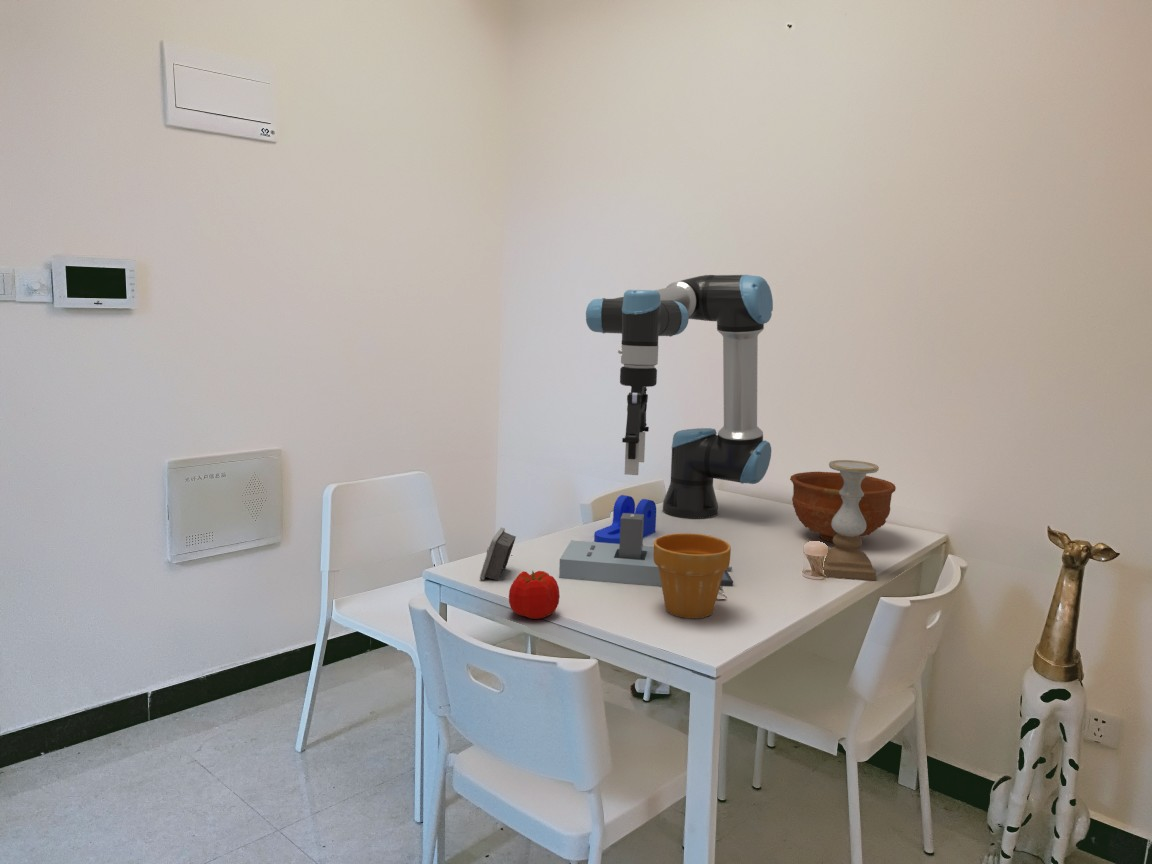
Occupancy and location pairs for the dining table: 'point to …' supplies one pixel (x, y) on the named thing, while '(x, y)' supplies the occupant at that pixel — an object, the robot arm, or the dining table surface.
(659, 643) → the dining table surface
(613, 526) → the bracket
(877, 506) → the bowl
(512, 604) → the tomato
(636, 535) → the plug
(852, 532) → the candle holder
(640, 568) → the plate
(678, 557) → the flower pot
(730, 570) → the usb cable
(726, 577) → the phone
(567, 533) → the dining table surface
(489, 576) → the electrical switch
